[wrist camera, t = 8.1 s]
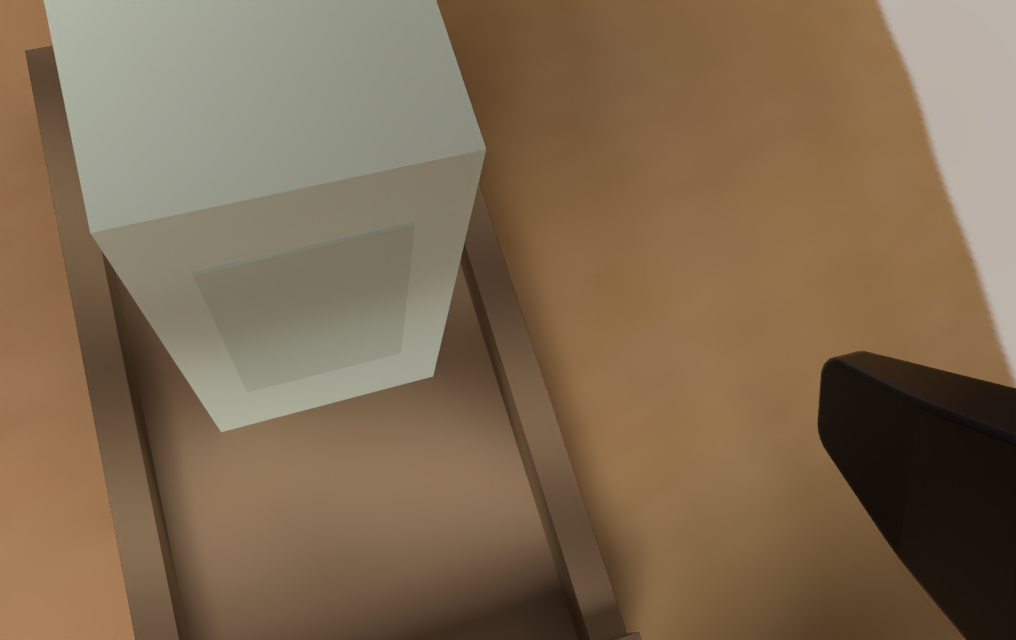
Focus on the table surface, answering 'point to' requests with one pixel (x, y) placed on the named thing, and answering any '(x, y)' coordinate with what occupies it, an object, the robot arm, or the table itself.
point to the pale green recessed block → (275, 186)
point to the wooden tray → (335, 474)
